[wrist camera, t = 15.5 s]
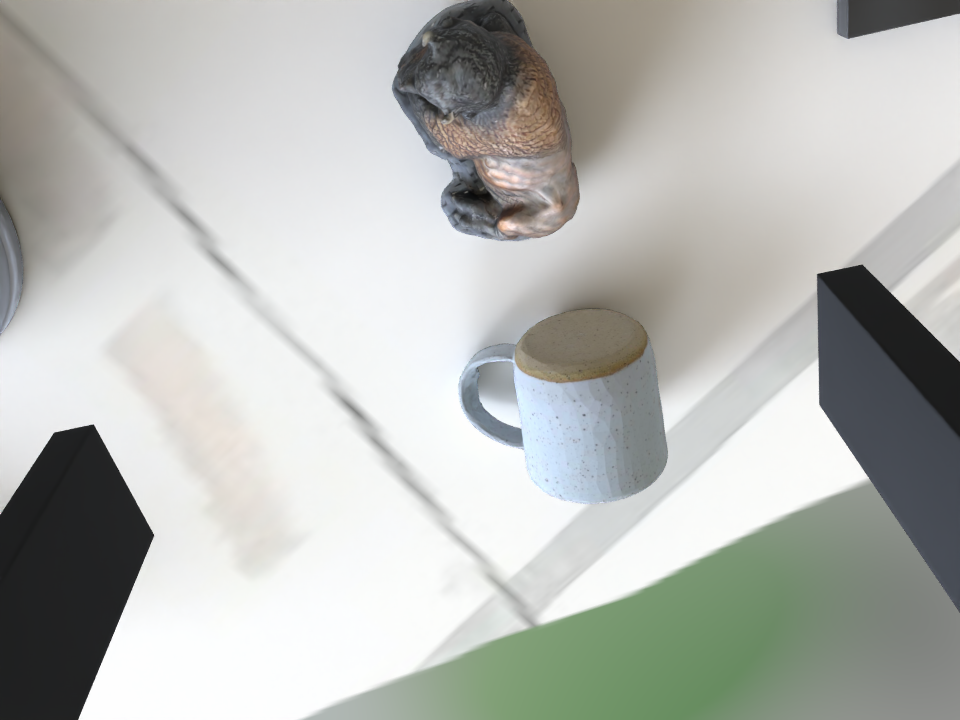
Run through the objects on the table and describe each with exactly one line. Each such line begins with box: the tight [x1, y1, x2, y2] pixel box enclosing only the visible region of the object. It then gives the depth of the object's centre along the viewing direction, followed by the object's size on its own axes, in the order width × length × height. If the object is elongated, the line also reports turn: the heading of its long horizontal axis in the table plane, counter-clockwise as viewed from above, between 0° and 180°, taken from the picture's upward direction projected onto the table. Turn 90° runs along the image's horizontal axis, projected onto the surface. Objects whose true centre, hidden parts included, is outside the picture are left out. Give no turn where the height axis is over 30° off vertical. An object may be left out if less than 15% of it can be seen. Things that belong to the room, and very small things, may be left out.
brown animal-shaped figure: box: [392, 0, 580, 241], centre depth 37 cm, size 12×7×10 cm, turn 25°
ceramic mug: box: [458, 309, 668, 504], centre depth 46 cm, size 11×8×8 cm
